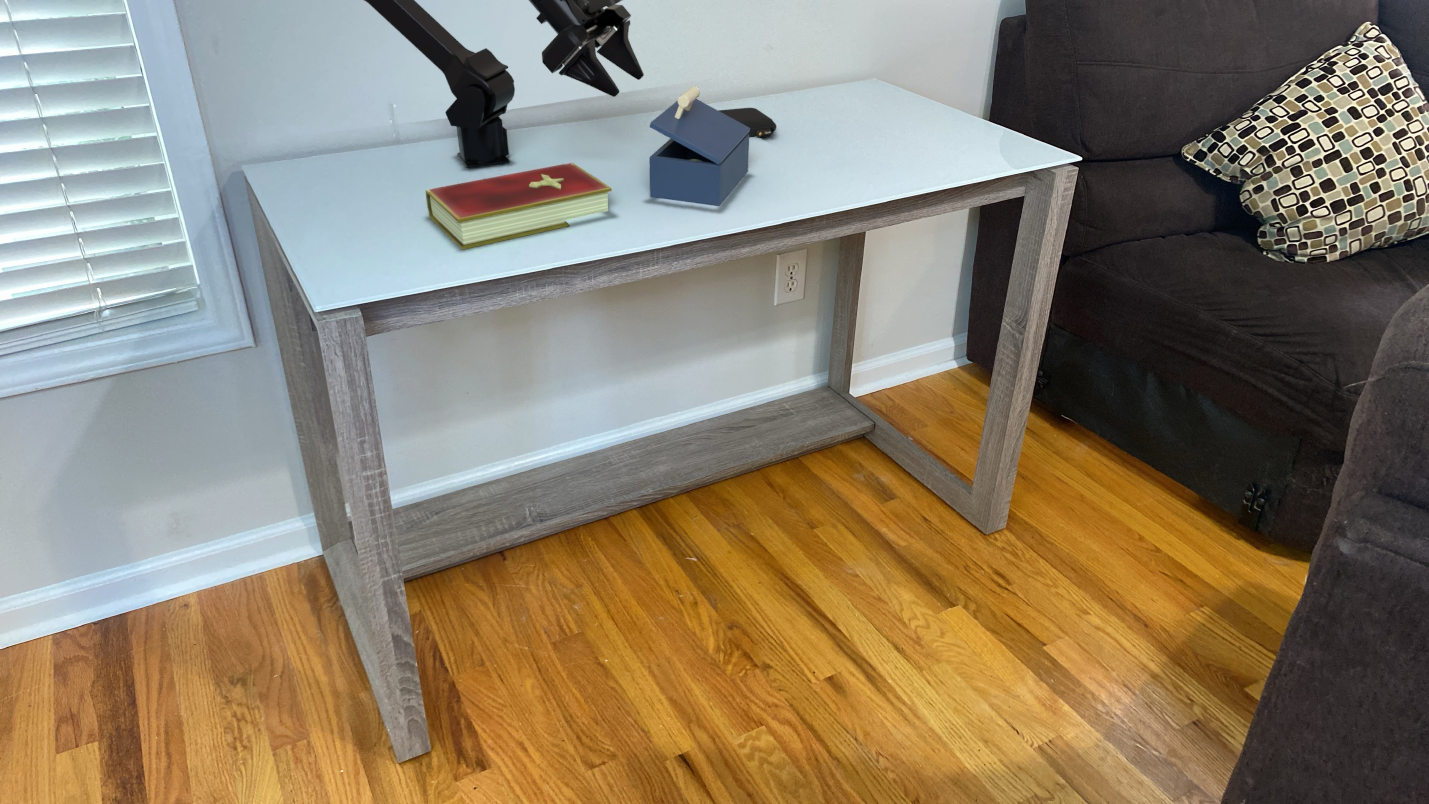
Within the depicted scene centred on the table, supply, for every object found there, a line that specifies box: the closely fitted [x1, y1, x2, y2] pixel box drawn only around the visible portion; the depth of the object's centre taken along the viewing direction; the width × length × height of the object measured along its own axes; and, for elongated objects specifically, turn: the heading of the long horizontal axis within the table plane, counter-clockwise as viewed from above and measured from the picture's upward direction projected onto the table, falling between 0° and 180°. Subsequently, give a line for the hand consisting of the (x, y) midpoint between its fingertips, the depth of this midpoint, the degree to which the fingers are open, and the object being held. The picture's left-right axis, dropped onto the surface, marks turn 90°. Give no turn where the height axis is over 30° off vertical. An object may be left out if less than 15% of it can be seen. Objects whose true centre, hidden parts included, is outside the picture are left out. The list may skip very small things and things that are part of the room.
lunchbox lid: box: [649, 85, 750, 165], centre depth 132 cm, size 11×15×4 cm
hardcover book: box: [425, 162, 612, 250], centre depth 127 cm, size 12×21×4 cm, turn 123°
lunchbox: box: [649, 134, 750, 207], centre depth 137 cm, size 10×15×6 cm
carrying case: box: [717, 107, 777, 139], centre depth 158 cm, size 11×3×15 cm
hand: (629, 85), depth 133 cm, fingers open, 9 cm apart
